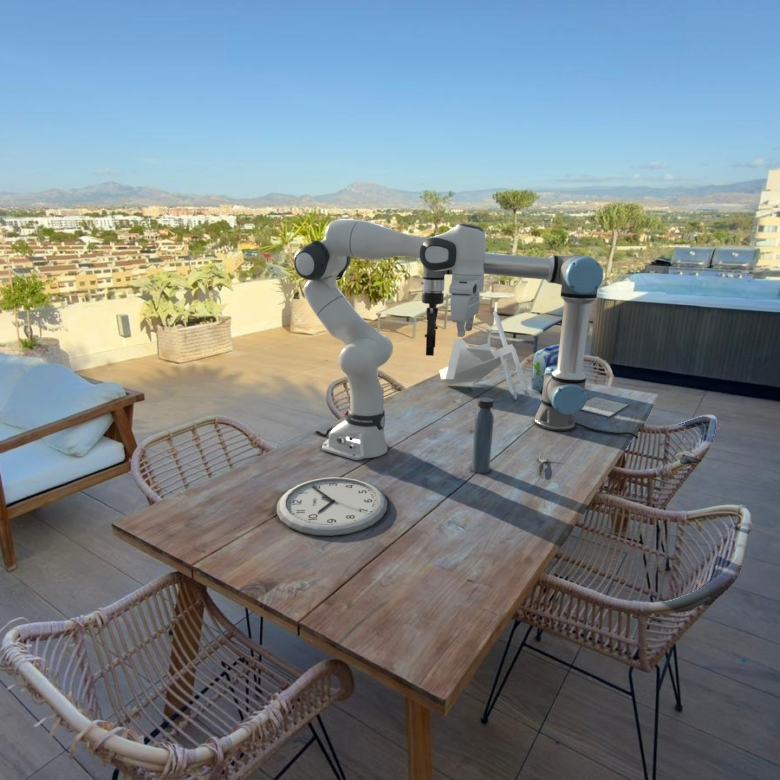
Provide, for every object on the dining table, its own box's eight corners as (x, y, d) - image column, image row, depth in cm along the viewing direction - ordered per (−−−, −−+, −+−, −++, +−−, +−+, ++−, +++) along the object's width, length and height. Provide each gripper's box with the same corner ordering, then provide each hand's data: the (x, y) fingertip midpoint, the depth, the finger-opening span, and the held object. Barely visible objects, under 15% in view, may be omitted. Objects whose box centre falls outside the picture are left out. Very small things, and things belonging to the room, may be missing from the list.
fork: (535, 475, 162) (535, 469, 161) (539, 455, 176) (540, 450, 175) (543, 477, 161) (544, 471, 160) (547, 456, 175) (548, 451, 175)
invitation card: (608, 416, 214) (573, 407, 224) (608, 416, 214) (573, 408, 224) (628, 404, 229) (594, 396, 238) (628, 405, 229) (594, 397, 238)
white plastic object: (461, 429, 252) (437, 405, 227) (444, 352, 274) (420, 323, 250) (535, 404, 240) (518, 377, 215) (510, 326, 262) (492, 293, 237)
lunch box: (547, 397, 237) (552, 352, 231) (526, 391, 245) (531, 348, 238) (574, 386, 255) (580, 344, 249) (554, 381, 262) (559, 340, 256)
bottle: (475, 474, 163) (480, 404, 156) (469, 466, 168) (473, 398, 161) (492, 472, 164) (497, 403, 157) (485, 465, 169) (490, 397, 162)
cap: (481, 409, 157) (481, 402, 156) (475, 404, 161) (476, 397, 160) (495, 408, 158) (495, 401, 157) (489, 403, 162) (490, 396, 161)
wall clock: (392, 527, 129) (268, 531, 127) (391, 533, 130) (269, 537, 127) (383, 473, 158) (282, 475, 155) (383, 478, 158) (282, 480, 156)
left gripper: (464, 280, 156) (462, 326, 160) (447, 287, 138) (445, 339, 142) (485, 281, 154) (482, 328, 158) (471, 288, 136) (468, 341, 140)
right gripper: (424, 287, 195) (422, 343, 201) (420, 295, 171) (417, 358, 177) (444, 288, 194) (441, 344, 200) (443, 296, 170) (440, 359, 177)
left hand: (464, 333), depth 150 cm, fingers open, 8 cm apart
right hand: (430, 351), depth 189 cm, fingers open, 13 cm apart
